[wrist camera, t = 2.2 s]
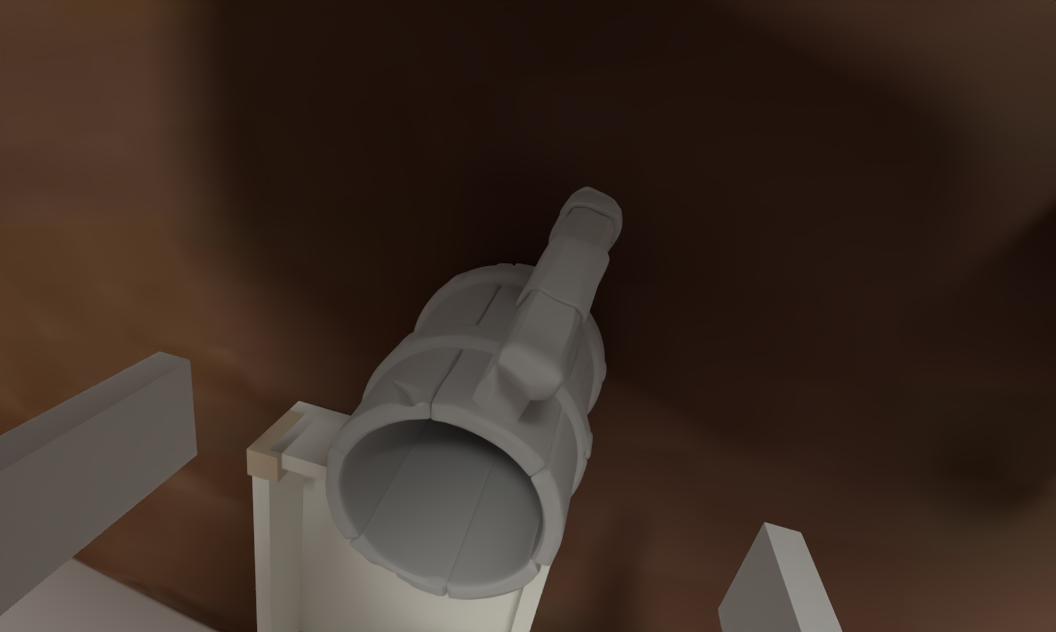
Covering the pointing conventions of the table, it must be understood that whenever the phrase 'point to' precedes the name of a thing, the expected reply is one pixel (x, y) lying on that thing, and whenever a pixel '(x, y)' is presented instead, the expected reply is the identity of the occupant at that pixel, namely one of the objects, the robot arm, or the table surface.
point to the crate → (342, 551)
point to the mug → (481, 420)
